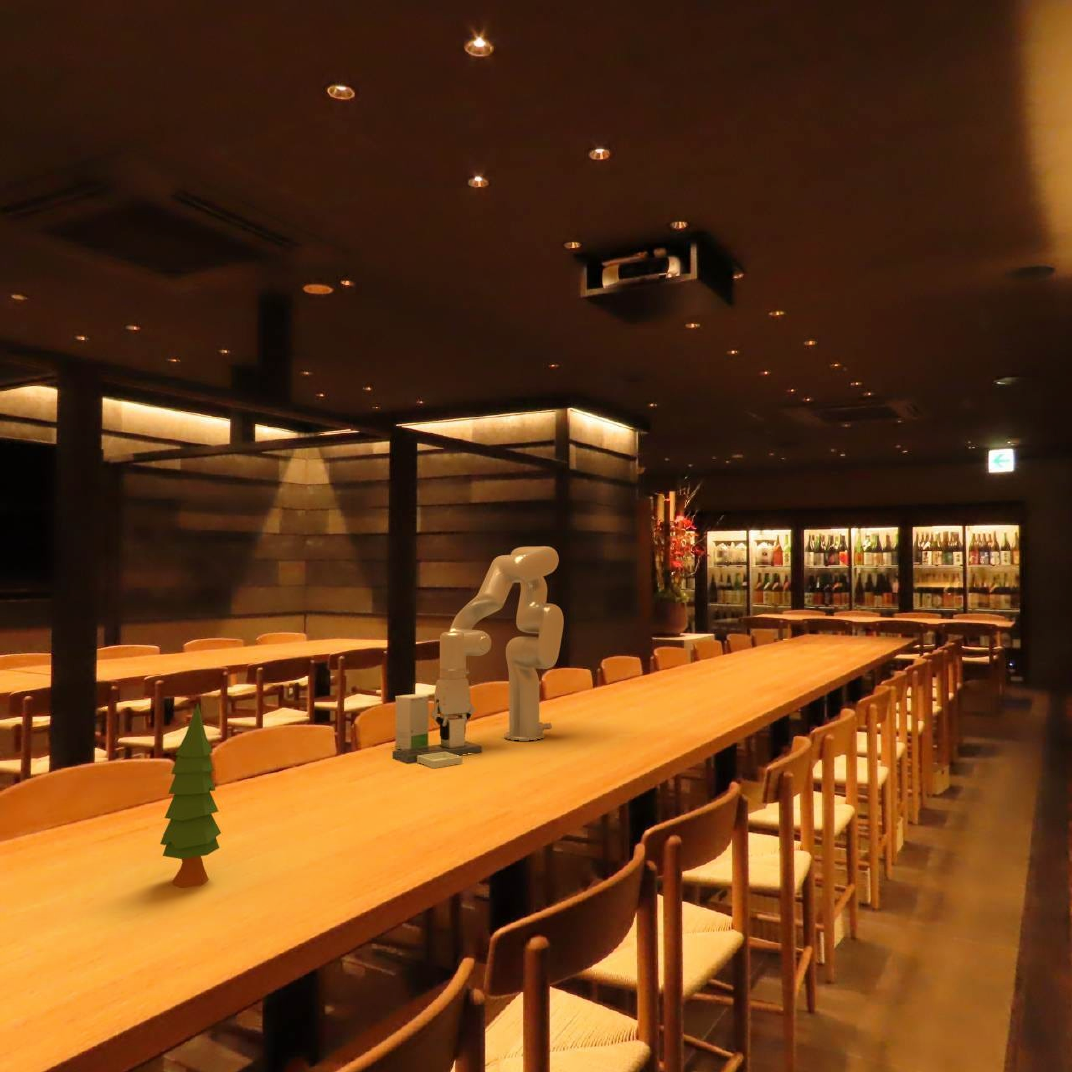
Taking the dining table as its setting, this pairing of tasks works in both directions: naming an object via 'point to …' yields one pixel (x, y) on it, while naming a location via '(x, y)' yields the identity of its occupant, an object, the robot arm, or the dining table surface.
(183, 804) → the decorative tree
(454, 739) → the tall white block
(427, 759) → the tray
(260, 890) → the dining table surface
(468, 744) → the dark grey slotted base
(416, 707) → the skincare box
